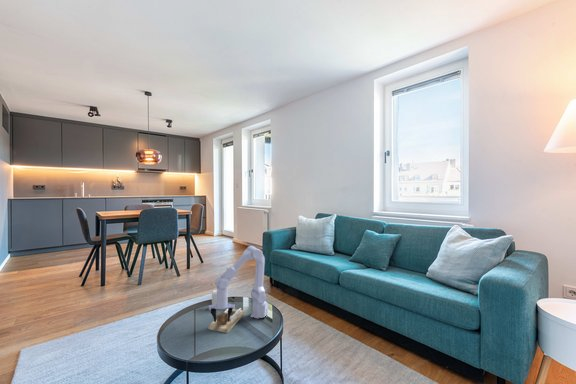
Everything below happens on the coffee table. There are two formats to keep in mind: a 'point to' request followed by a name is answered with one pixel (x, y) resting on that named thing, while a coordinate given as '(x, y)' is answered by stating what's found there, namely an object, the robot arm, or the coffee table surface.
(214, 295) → the photo printer
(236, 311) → the channel
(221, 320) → the walnut block
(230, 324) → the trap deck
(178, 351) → the coffee table surface
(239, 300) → the coffee table surface
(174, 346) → the coffee table surface
